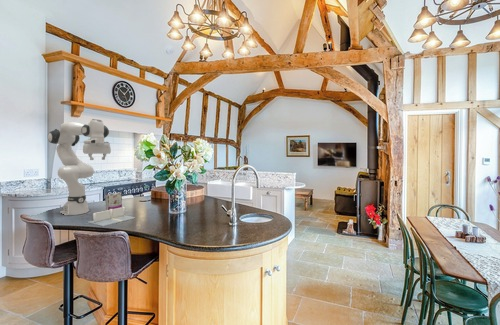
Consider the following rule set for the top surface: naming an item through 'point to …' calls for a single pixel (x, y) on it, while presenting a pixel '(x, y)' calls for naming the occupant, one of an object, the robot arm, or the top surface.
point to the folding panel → (101, 215)
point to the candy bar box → (113, 201)
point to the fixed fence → (117, 212)
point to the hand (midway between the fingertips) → (97, 159)
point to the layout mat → (111, 220)
